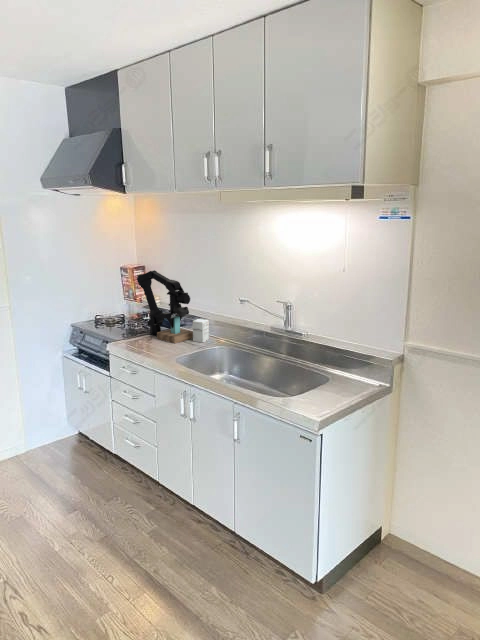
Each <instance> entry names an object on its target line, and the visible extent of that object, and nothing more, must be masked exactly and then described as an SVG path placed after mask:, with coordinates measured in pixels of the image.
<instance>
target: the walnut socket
mask: <svg viewBox="0 0 480 640" xmlns="http://www.w3.org/2000/svg"><path fill="white" fill-rule="evenodd" d="M156 338H157V340H160V341H164V342H168V343H172V344H177V343H182V342H185V341H188V340H193V339H192V338H193V330H188V329H185V328H180V333H177V334H173V333H171V328H169V329H166V330H162V331H161V332H157V336H156Z"/></svg>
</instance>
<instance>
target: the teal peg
mask: <svg viewBox="0 0 480 640" xmlns="http://www.w3.org/2000/svg"><path fill="white" fill-rule="evenodd" d="M173 317H174V318H175V319H174V327H173V328H172V327H171V326H170V329H171V333H173V334H177V333H180V329H181V321H180V317H178V316H175V315H173Z"/></svg>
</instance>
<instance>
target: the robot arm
mask: <svg viewBox="0 0 480 640" xmlns="http://www.w3.org/2000/svg"><path fill="white" fill-rule="evenodd" d="M152 280H155V281H156V282H158V283H159V284H162V285H163V286H164V287H165V289H166V290H167V291H168V292H167V293H166V295H169V303H168V306H169V310H168V312H167V311H164V312H163V310H162V309H159V308H158V304H157V301H156V299H155V295H154V293H153V289H152V282H153V281H152ZM136 281H137V283H138V285H139V287H141V288H142V290H143V293H144V295H145V298H146V301H147V304H148V307H149V310H150V311H149V319H148V321H147V322H146V324H147V326H148V327H149V328H150V329H149V330H150V332H149V333H148V335H150V336H153V337H157V332H161V325H162V324H163V323H164V319H165V320H167V321H168V323H169V325H170V328H171V327H172V328H173V327H174V319H175V318H174V317H173V316H178V317H180V322H181V321H182V318H184V317H185V316H186V315H190V310H189V307H188V306H184V307H182V304H183V305H188V304H190V303H191V296H190V294H189V293H188V292H185V291H184V289H183V287H182V285H181V282H179V281H178V280H176V279H170V278H168V277H166V276H164V275H163V274H161V273H160V272H158V271H157V270H155V269H154V270H149V271H147V272H145V273H143V274H139V275H138V276H137V277H136Z"/></svg>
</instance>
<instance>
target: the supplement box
mask: <svg viewBox="0 0 480 640" xmlns="http://www.w3.org/2000/svg"><path fill="white" fill-rule="evenodd" d="M209 322H210V320H209V319H205V318H204V319H202V318H197V319H194V320H192V331H193V339H192V342H199V343H205V342H207V341H209V340H208V339H210V327H209V326H210V325H209ZM206 340H207V341H206Z"/></svg>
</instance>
